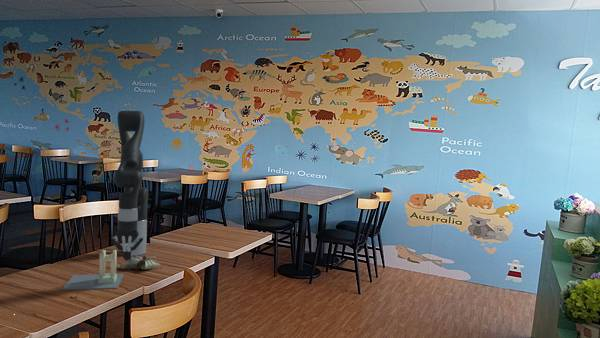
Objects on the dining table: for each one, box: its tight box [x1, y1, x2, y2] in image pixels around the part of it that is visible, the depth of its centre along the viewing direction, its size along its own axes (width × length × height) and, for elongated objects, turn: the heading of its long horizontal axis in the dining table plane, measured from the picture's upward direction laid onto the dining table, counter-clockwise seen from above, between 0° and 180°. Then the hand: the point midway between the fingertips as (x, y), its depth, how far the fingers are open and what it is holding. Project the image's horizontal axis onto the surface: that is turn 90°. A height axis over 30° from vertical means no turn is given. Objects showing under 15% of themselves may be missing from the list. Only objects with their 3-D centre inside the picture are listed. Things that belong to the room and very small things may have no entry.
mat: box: [61, 273, 125, 291], centre depth 181 cm, size 16×20×1 cm
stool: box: [98, 249, 118, 284], centre depth 182 cm, size 6×6×12 cm
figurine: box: [119, 255, 163, 271], centre depth 201 cm, size 20×6×17 cm
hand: (127, 260), depth 183 cm, fingers closed
